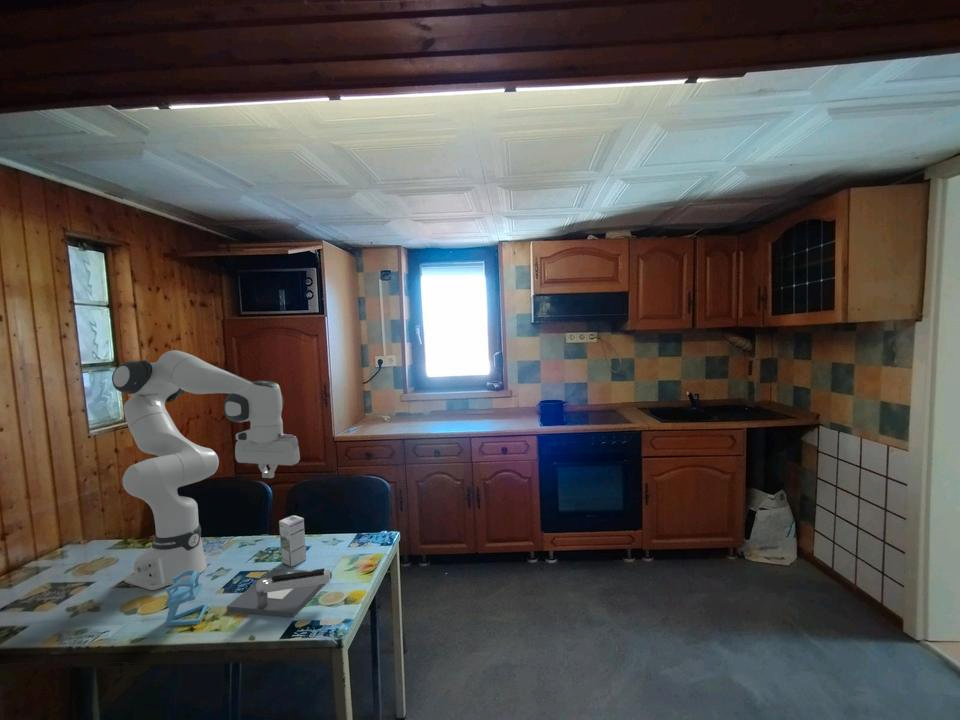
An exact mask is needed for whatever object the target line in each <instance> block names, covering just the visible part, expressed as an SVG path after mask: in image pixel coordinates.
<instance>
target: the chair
mask: <svg viewBox="0 0 960 720" xmlns="http://www.w3.org/2000/svg"><path fill="white" fill-rule="evenodd" d="M200 574H201V573H200V572H199V571H186V572H184V573H182V574H180V575H179V576H177V577H174V578H172V579H173V581H174V584H172V585H169V587H168V586H167V587H165V589H164V590H165V591H166V593H167V595H168V598H167V599H166V601H165V603H164V604H165V607H168V612H167V616H166V620H165V622H164V626H165V627H172V626H174V627H175V626H189V625H190V626H191V625H198V624H200V623H201V622H202V619H203V617H204V615H205V612H207V609H208V602H207V603H206V602H205V603H202V604H200V605H197V606H193V607H191V608H188V609H186V610H183V611H180V612H178V613H177V611H178V608H179V606H180V605H182V604H184V603H186V602H190V601H194V600H196V599H197V596H198V594H199V592H200V590H201V589H202V587H203V583H199V582H200V581H199V579H200ZM187 575H191V577H190V578H189V579H185V580H181V581H178V582H177V580H178V579H180V578H182V577H184V576H187ZM171 591H172V592H171ZM200 610H201V611H200ZM197 611H200V613H199V615H198V617H197V618H196V619H193V618H191V619H189V618H188V619H179V618H182V617H184V616H187V615H190V614H192V613H195V612H197Z"/></svg>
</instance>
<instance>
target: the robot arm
mask: <svg viewBox="0 0 960 720" xmlns="http://www.w3.org/2000/svg"><path fill="white" fill-rule="evenodd" d="M111 383H112V385H113V387H114V389H116V391H118V392H121V393H124V394H128V395H134V396H132V397H130V398H128V400H127V401H126V402H125V403H124V405H123V414H124V418H125V422H126V424H127V426H128V427H127V428H128V429H129V431H130V434H131V435H132V437H133V439H134V442H135V444H136V446H137V448H138V449H139V450H140V451H141V452H143V453H145V454H149V455H154V456H155V457H151V458H146V459H144V460H143V461H142V460H141V461H139V462H136V463H134V464H132V465H129V467H128V468H126V470H125V471H124V473H123V476H122V487H123V489H124V491H126V493H127V494H129V495H130V496H132V497H135V498H138V499H140V500H142V501H144V502H145V503H146V504H148V506H149V507H150V509H151V511H152V513H153V514H152V515H153V519H154V525H155V526H154V527H155V534H153V535H151V536H149V537H148V538H149V539H148V541H152V543H151V546H150V547H148V548H147V549H146V550H145V551H144V552H142V554H140V555H139V556H138V557H137V558H136V559H135V561H134V566H133V567H134V569H133V571H132V572H130V573H129V574H127V576H126V577H125V578H124V583H125V584H129V585H132V586H137V587H140V588H142V589H147V590H150V591H156V590H159V589H162V588H164V587H165V588H166V587H168V586H172V585H173V584H174V581H173V579H172V578H174V577H177V576H179V575H180V574H182V573H184V572H186V571H199V572H200V574H201V573H203V572H204V571H205V570H206V569H207V567H208V562H207V555H206V554H205V550H204V545H203V540H202V537H201V536H202V528H201V524H200V522H199V508H198V507H199V506H198V503H197V501H196V500H195V499H194V498H192V497H188V496H185V495H184V496H183V495H179V493H178V489H179V488H181V487H185V486H188V485H191V484H194V483H197V482H198V483H199V482H201V481H203V480H205V479H207V478H209V477H211V476H213V475H215V473H216V472H218V471H217V470H218V468H219V464H220V460H219V456H218V454H217V453H216V451H214V450H213V449H212V448H210V447H204V446H202V445H199V444H196V443H194V442H192V441H191V440H189V439H188V438H186V437H185V436H184V435H183V434H182V433H181V432H180V431H179V429H178V428H177V426H176V424H175V422H174V421H173V419H172V417H171V415H170V414H169V412H168V410H167V407H166V406H165V405H166V403H171V402H174V401H176V399H177V398H178V397H180V396H181V395H183V394H184V393H185V392H187V393H190V394H194V395H207V394H208V395H209V394H227V396H226V398H225V400H224V402H223V413H224V415H225V417H226V418H227V419H228V420H229V421H231V422H232V423H244V422H250V427H249V428H248V429H246V430H244V431H241V432H237V433H236V434H235V440H237V441H236V443H235V445H234V446H235V447H234V455H235V460H236V462H237V463H239V464H257V465H258V466H257V467H258V469H259V470H260V472H261V476H262V477H261V478H263V479H273V478H274V477H275V472H276V469H277V468H278V466H294V465H296V464H298V463H299V461H300V460H301V453H300V447H299V440H298V438H297V436H295V435H294V434H291V433H290V434H287V433H284V427H283V426H284V425H283V424H284V422H283V419H282V413H283V412H282V411H283V407H284V404H285V403H284V397H283V395H282V392H281V391H282V390H281V387H280V385H279V384H278V383H277V382H276V381H272V380H265V379H264V380H255V381H251V380H250V379H247V378H245V377H242V376H239V375H238V374H235V373H231V372H230V371H227V370H224V369H223V368H221V367H217V366H215V365H213V364H210V363H208V362H207V361H205V360H203V359H201V358H199V357H197V356H195V355H194V354H190V353H188V352H185V351H183V350H177V349H176V350H175V349H174V350H173V349H172V350H169V351H166V352H164V353H163V354H161V356H160V357H159V358H158V360H157V361H155V362H148V360H147V359H145V360H135V361H126V362H123V363H121V364H119V365H117V367H115V369H114V370H113V373H112V376H111ZM267 465H268V468H270V469H269V470H268V468H267ZM190 577H191V575H187V576H184V577H182V578H180V579H178V580H177V582H178V581H181V580H185V579H189V578H190Z"/></svg>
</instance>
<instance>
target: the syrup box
mask: <svg viewBox="0 0 960 720" xmlns="http://www.w3.org/2000/svg"><path fill="white" fill-rule="evenodd" d="M278 524H279V525H278V526H279V537H280V538H279V539H280V541H279V542H280V555H281V563H282V564H283V563H284V564H283V565H286V566H289V567H290V566H291V567H290V568H292V566H293V567H295V566H297V565H299V564H301V563H302V561H303V562H305V561H306V560H307V549H306V534H305V518H304V517H301V516H298V515H295V514H294V515H290V516H286V517H285V518H283V519H280V520H278ZM304 560H305V561H304ZM300 562H301V563H300ZM298 563H299V564H298ZM296 564H297V565H296ZM294 565H295V566H294Z"/></svg>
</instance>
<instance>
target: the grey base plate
mask: <svg viewBox="0 0 960 720" xmlns="http://www.w3.org/2000/svg"><path fill="white" fill-rule="evenodd" d="M303 571H308V570H307V569H293V568H291V569H290V568H276V567H274V568H272V569H271V570H270V571H269V572H268V573H266V574H265V575H264V576H262V577H261V578H260V579H262V578H267V579H271V578H272V576H276V575H283V574H289V573H296V572H303ZM332 573H333V572H331V571H330V579H332V576H333V574H332ZM326 584H327V583H325V584H318V585H312V586H306V587H299V588H293V589H286V590H280V591H274V592H267V593H265V594H263V595H257V593H256V582H255V583H253V585H251V586H250V587H248V589H246V590H245V591H244V592H242V593H241V594H240V595H239V596H238V597H237V598H235V599H233V600H232V601H231V602H230V603H228V605H226V612H227V613H228V612H229V613H237V614H238V613H239V614H247V615H248V614H249V615H259V616H270V617H280V618H281V617H282V618H290V619H291V618H293V619H294V618H295V617H296V616H297V615H298V613H299V612H300V611H301V610H302V609H304V607H305V606H306V605H307V604H308V603H309V602H310V601H311V600H312V599H313V597H315V596H316V594H317V593H319V591H320V590H322V588H323V587H324V586H325V585H326Z"/></svg>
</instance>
